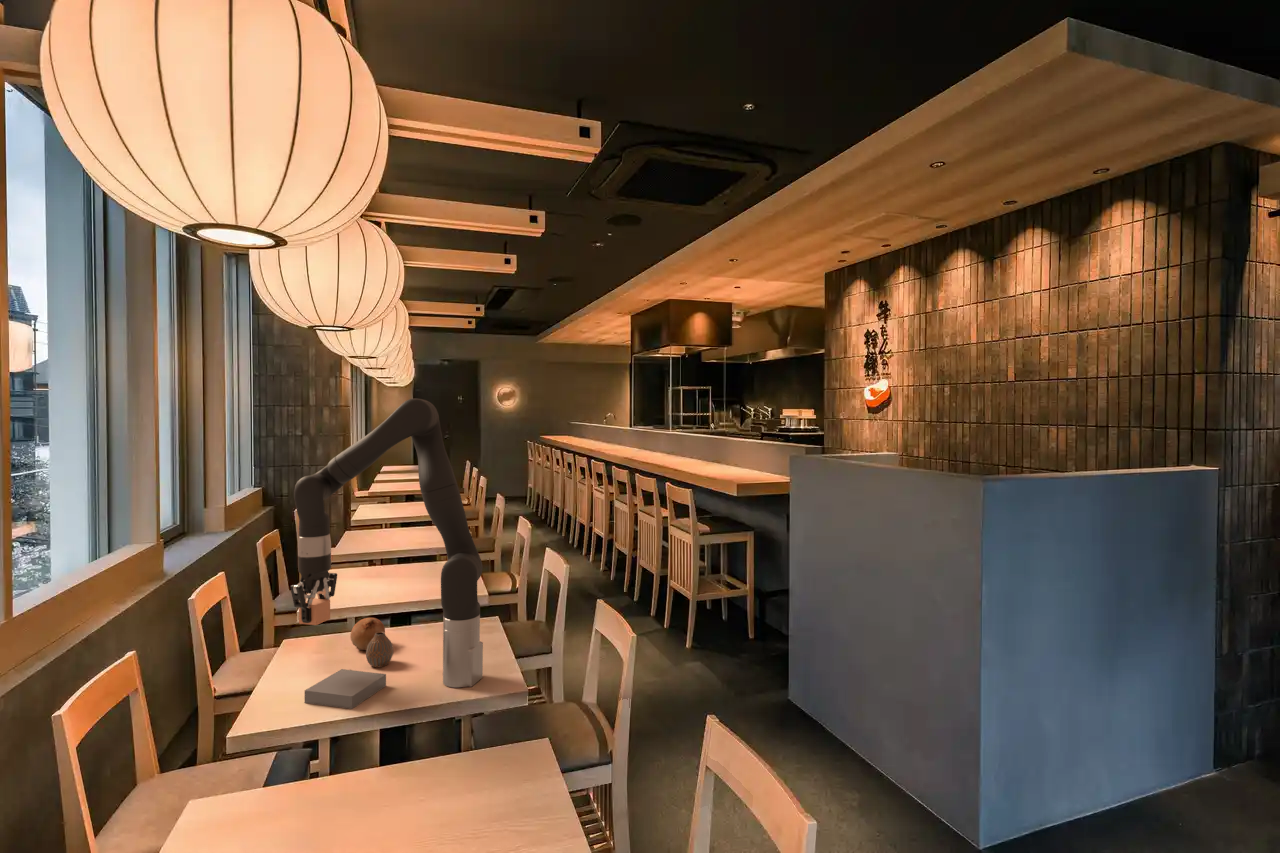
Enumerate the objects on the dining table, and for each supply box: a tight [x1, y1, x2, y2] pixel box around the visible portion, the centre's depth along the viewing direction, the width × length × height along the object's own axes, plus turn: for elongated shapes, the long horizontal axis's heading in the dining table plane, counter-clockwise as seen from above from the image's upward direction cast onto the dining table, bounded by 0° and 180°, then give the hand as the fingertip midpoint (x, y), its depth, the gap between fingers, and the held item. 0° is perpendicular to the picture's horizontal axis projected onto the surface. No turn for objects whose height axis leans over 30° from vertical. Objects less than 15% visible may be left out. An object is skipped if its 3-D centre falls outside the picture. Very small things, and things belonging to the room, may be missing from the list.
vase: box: [365, 632, 394, 668], centre depth 171 cm, size 7×7×9 cm
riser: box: [304, 668, 387, 710], centre depth 153 cm, size 13×13×3 cm
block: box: [298, 597, 331, 626], centre depth 158 cm, size 5×5×5 cm
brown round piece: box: [350, 617, 386, 651], centre depth 184 cm, size 10×9×10 cm
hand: (315, 618), depth 158 cm, fingers closed on block, 5 cm apart
